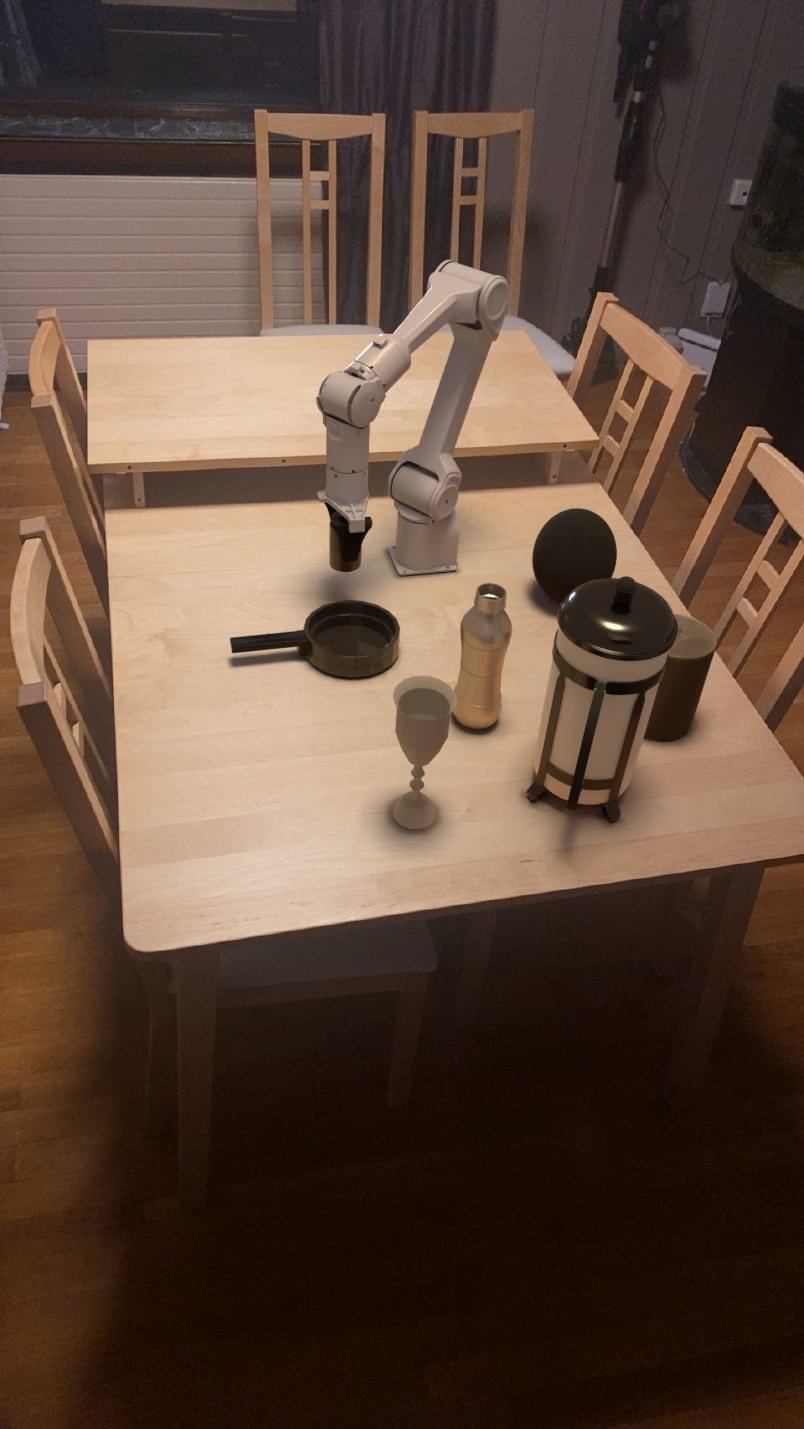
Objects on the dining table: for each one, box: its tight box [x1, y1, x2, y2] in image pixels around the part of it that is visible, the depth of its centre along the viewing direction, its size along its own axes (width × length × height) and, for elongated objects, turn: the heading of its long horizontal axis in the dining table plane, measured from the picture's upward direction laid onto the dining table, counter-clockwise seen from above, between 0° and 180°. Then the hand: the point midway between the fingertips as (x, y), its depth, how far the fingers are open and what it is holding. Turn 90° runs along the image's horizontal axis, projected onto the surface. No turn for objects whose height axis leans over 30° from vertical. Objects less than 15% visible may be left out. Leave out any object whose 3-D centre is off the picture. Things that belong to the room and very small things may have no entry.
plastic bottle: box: [452, 582, 513, 730], centre depth 125 cm, size 6×7×20 cm
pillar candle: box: [644, 613, 718, 742], centre depth 129 cm, size 10×10×15 cm
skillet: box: [303, 599, 401, 678], centre depth 140 cm, size 13×13×4 cm
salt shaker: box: [328, 511, 363, 573], centre depth 142 cm, size 5×5×8 cm
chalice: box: [392, 675, 457, 830], centre depth 112 cm, size 7×7×18 cm
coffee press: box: [525, 575, 678, 822], centre depth 113 cm, size 17×16×30 cm
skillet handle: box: [229, 629, 307, 658], centre depth 137 cm, size 10×3×3 cm, turn 104°
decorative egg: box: [531, 507, 618, 605], centre depth 148 cm, size 12×12×15 cm
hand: (345, 550), depth 143 cm, fingers closed on salt shaker, 4 cm apart
